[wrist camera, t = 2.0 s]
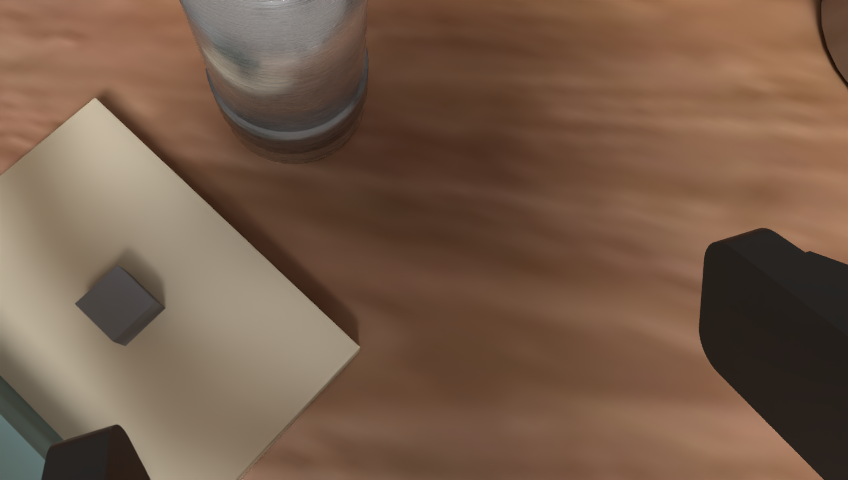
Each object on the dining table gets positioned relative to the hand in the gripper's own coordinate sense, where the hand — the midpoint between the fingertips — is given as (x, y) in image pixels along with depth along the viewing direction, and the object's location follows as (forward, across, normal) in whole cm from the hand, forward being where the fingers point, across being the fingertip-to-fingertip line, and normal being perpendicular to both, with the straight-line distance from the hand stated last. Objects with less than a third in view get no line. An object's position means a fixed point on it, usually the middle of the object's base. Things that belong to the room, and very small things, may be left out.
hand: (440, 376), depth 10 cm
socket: (+18, 0, +2) cm, 18 cm away
